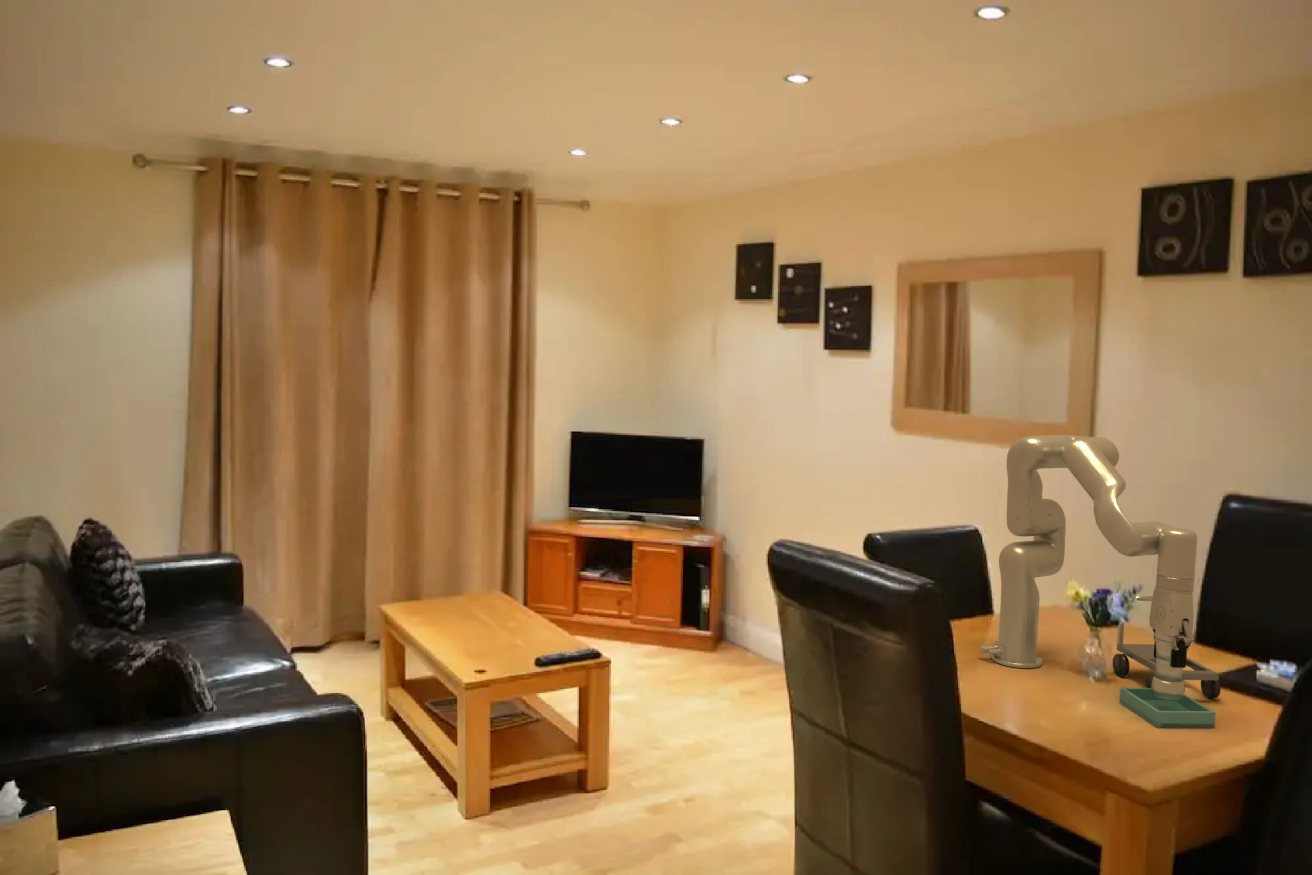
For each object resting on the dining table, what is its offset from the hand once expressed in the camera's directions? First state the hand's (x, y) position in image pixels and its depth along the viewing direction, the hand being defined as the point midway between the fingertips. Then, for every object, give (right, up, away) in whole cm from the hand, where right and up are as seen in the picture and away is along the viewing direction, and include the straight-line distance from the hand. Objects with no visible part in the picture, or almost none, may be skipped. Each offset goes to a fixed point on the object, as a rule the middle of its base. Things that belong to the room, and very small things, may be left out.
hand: (1169, 661), depth 230 cm
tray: (0, -12, +1) cm, 12 cm away
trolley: (+9, -11, +23) cm, 27 cm away
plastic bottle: (0, -9, +1) cm, 9 cm away
